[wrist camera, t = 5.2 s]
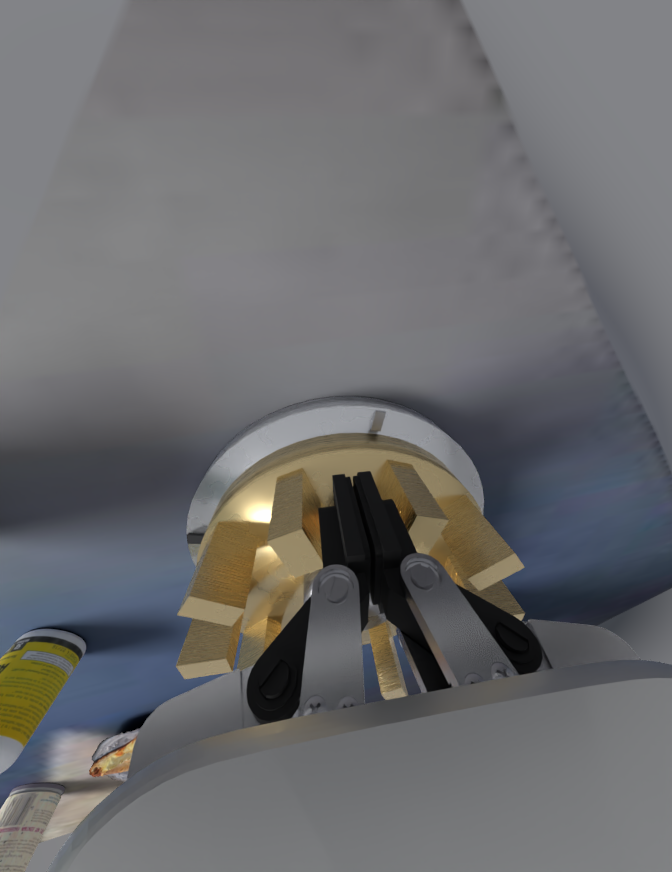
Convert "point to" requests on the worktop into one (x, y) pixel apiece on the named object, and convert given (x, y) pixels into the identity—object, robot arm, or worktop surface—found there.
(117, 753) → the food plate
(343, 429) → the light grey round disc
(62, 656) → the supplement bottle
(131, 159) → the worktop surface
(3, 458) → the worktop surface
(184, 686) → the worktop surface
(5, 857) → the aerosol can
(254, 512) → the bladed impeller wheel
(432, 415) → the worktop surface
